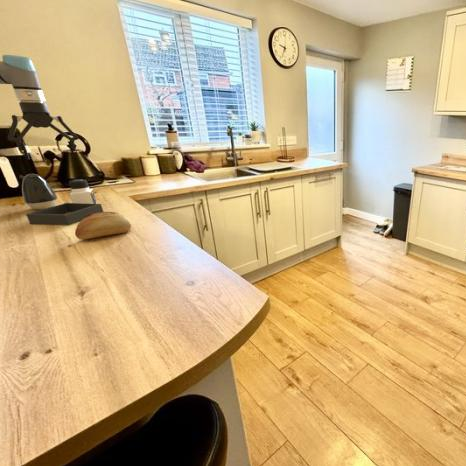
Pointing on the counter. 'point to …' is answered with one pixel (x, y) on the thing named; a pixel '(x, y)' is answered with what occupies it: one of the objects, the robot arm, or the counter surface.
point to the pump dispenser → (37, 192)
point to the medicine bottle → (81, 192)
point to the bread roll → (101, 225)
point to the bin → (55, 213)
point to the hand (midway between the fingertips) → (52, 158)
